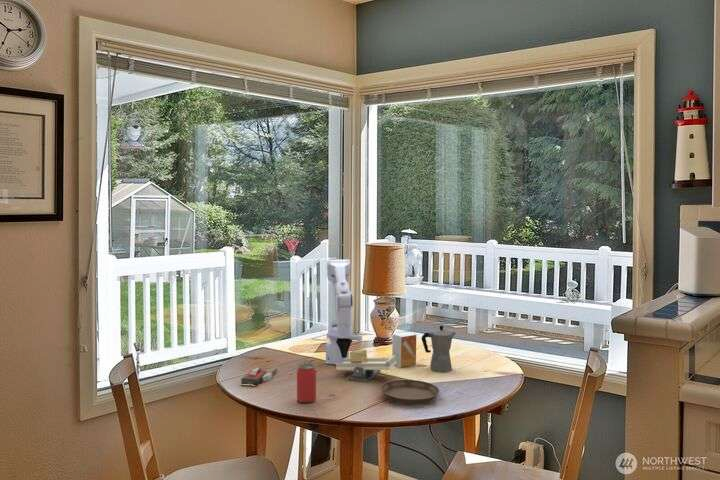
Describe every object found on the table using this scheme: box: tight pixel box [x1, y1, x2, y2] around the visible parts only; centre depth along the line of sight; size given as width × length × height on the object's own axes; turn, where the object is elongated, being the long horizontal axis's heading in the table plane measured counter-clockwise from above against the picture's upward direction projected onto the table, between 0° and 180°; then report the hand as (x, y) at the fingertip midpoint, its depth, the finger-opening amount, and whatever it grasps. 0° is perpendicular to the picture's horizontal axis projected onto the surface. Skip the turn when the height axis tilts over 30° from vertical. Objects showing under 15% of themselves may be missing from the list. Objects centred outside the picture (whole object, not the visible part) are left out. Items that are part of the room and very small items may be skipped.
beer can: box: [296, 363, 317, 403], centre depth 207 cm, size 7×7×12 cm
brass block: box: [349, 349, 368, 363], centre depth 237 cm, size 5×5×5 cm
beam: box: [335, 355, 397, 371], centre depth 236 cm, size 22×9×3 cm, turn 68°
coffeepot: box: [421, 325, 457, 373], centre depth 244 cm, size 15×9×18 cm, turn 110°
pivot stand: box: [347, 367, 381, 383], centre depth 236 cm, size 8×15×4 cm, turn 158°
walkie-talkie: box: [240, 367, 278, 386], centre depth 232 cm, size 9×4×20 cm
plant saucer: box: [380, 379, 440, 406], centre depth 212 cm, size 21×21×3 cm
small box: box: [391, 331, 417, 369], centre depth 251 cm, size 8×6×13 cm
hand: (344, 357), depth 239 cm, fingers closed
